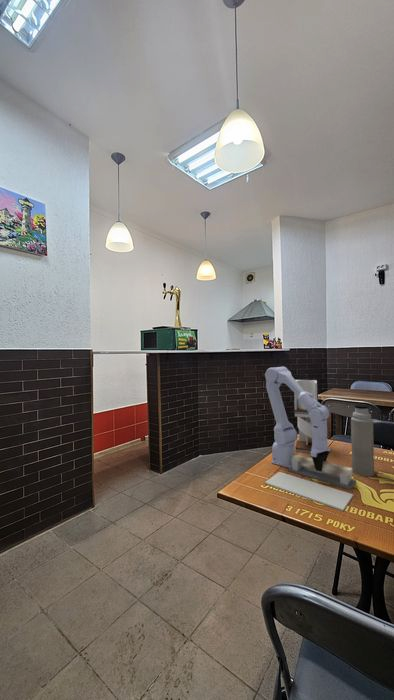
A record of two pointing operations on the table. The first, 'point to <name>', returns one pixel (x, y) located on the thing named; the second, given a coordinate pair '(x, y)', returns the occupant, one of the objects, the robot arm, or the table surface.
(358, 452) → the thermos bottle
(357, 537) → the table surface
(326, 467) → the rail
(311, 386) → the display case
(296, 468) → the rack
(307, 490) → the mat
